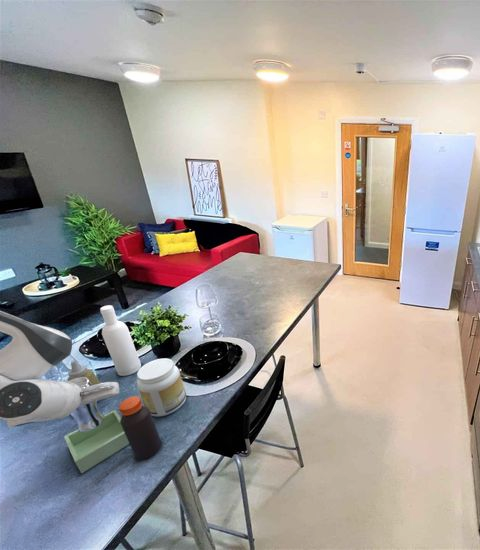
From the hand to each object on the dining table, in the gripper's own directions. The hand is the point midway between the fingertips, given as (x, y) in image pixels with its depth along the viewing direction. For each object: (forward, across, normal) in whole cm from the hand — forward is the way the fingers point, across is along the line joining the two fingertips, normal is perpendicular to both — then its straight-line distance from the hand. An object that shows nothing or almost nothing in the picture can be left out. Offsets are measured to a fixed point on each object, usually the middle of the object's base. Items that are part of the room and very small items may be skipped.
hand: (81, 401), depth 84 cm
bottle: (+38, -3, -12) cm, 40 cm away
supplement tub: (+18, -17, +7) cm, 26 cm away
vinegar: (+6, -13, +20) cm, 24 cm away
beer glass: (+6, 0, +6) cm, 9 cm away
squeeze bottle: (+29, +7, -3) cm, 30 cm away
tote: (+12, 0, +13) cm, 18 cm away
